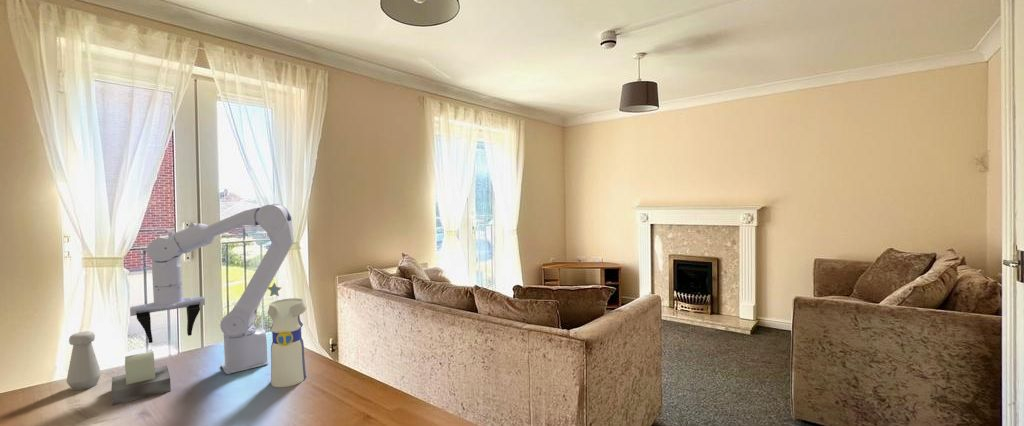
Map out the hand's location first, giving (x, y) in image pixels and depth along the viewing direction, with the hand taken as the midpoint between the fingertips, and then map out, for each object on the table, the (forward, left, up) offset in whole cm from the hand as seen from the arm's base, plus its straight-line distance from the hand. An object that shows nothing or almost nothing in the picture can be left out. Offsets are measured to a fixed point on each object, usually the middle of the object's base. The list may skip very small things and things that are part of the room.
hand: (170, 338), depth 108 cm
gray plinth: (+6, +6, -9) cm, 13 cm away
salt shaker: (+16, -6, -10) cm, 20 cm away
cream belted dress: (-21, +24, -10) cm, 33 cm away
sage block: (+6, +6, -6) cm, 11 cm away
